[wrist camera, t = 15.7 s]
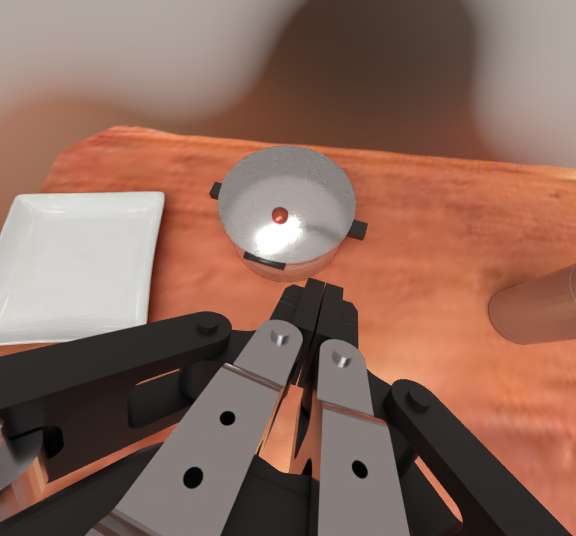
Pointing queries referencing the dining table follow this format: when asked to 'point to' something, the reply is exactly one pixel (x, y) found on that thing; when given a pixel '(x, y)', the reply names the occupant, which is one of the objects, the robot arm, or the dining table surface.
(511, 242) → the dining table surface
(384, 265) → the dining table surface
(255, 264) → the pot
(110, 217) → the square plate
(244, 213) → the lid
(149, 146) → the dining table surface
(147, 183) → the dining table surface
